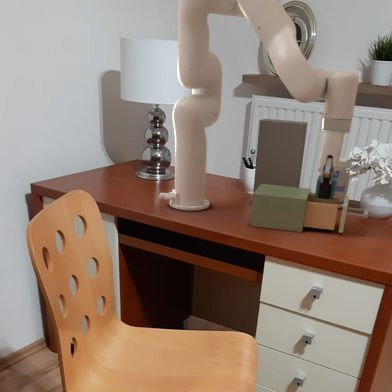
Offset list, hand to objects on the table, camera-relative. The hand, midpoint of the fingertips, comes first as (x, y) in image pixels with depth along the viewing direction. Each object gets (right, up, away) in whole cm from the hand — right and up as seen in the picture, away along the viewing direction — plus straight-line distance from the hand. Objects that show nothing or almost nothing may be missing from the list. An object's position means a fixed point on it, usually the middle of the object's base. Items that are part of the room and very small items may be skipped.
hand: (324, 195), depth 145 cm
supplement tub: (+8, +4, +26) cm, 27 cm away
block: (0, 0, 0) cm, 0 cm away
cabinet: (-11, -6, +7) cm, 15 cm away
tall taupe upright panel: (-10, +4, +24) cm, 27 cm away
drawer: (+2, -8, +4) cm, 9 cm away
